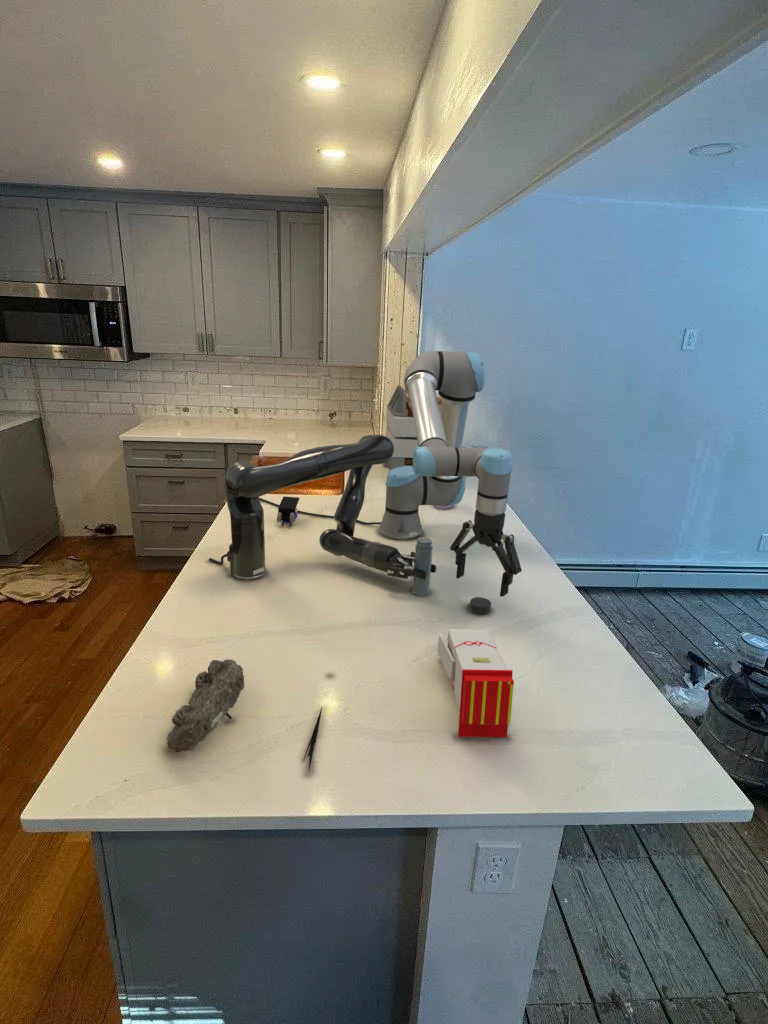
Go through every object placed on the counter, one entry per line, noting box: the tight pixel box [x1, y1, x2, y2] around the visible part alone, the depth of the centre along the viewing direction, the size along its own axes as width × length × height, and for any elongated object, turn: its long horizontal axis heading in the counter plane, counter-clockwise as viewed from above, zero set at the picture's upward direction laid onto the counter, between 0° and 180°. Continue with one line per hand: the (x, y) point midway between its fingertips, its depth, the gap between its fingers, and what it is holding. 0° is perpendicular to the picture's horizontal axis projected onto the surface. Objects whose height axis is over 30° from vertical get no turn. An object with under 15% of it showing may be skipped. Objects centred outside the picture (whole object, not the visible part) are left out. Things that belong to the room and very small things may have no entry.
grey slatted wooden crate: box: [382, 384, 464, 471], centre depth 268 cm, size 34×33×41 cm
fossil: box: [166, 658, 245, 754], centre depth 106 cm, size 22×10×15 cm
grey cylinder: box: [412, 536, 434, 597], centre depth 157 cm, size 5×5×16 cm
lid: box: [469, 596, 492, 616], centre depth 151 cm, size 6×6×2 cm
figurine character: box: [276, 495, 300, 527], centre depth 205 cm, size 7×8×15 cm
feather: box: [301, 673, 332, 771], centre depth 108 cm, size 2×28×2 cm
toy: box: [437, 628, 515, 738], centre depth 117 cm, size 12×13×30 cm
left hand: (430, 572), depth 156 cm, fingers closed on grey cylinder, 4 cm apart
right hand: (481, 585), depth 150 cm, fingers open, 13 cm apart
